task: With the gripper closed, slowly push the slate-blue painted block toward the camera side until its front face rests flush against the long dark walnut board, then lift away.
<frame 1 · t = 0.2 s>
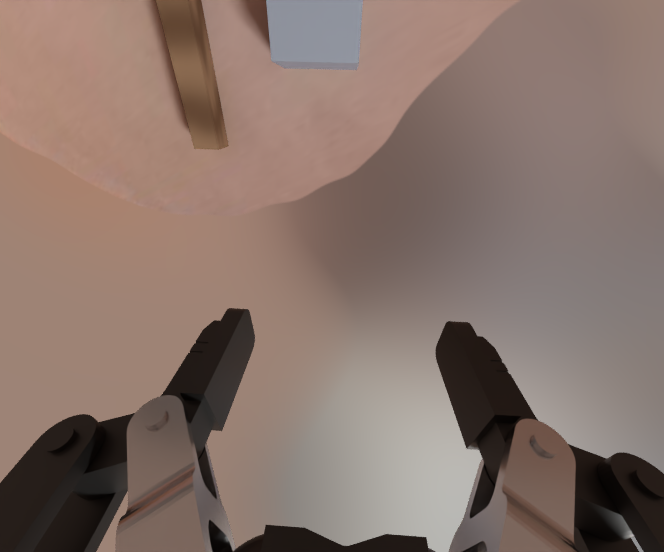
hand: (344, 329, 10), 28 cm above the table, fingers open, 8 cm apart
block: (320, 32, 26), on the table
board: (192, 28, 26), on the table
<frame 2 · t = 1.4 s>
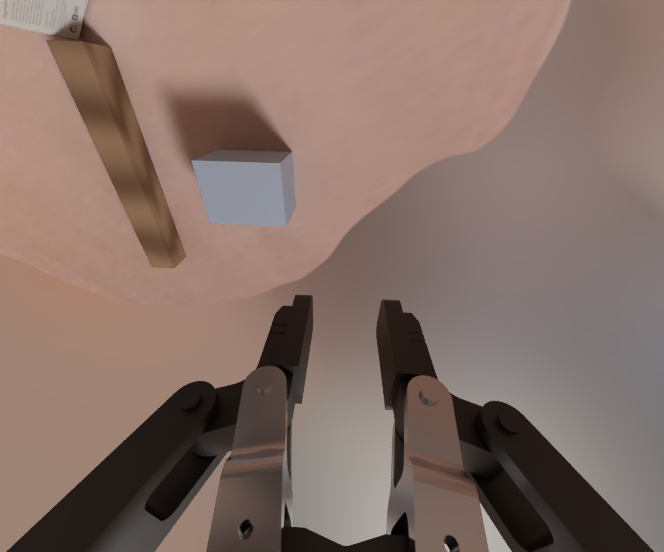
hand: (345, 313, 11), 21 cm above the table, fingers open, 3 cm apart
block: (259, 179, 29), on the table
board: (144, 174, 29), on the table
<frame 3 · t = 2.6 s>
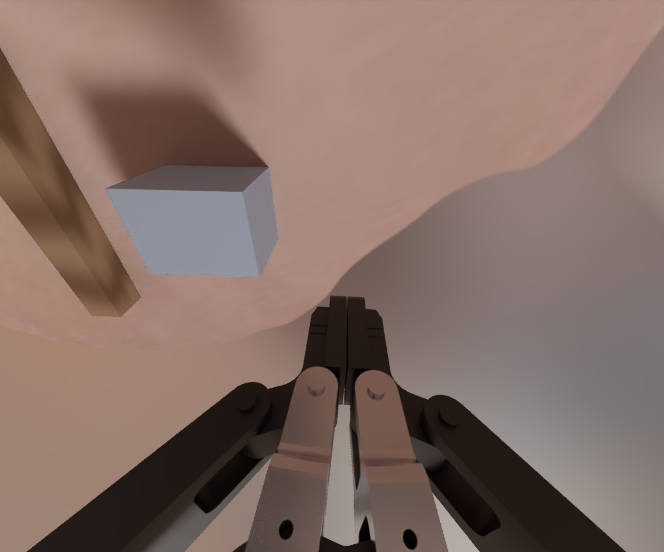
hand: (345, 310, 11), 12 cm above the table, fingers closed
block: (226, 204, 21), on the table
board: (67, 197, 21), on the table
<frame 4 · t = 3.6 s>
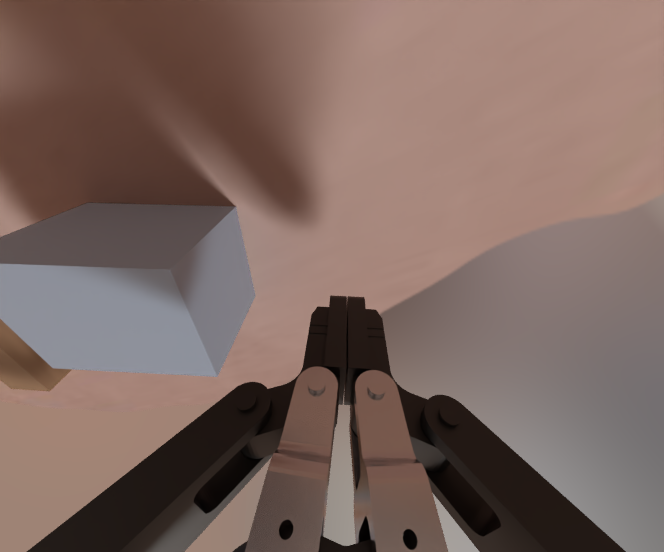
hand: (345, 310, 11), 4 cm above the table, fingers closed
block: (181, 253, 15), on the table
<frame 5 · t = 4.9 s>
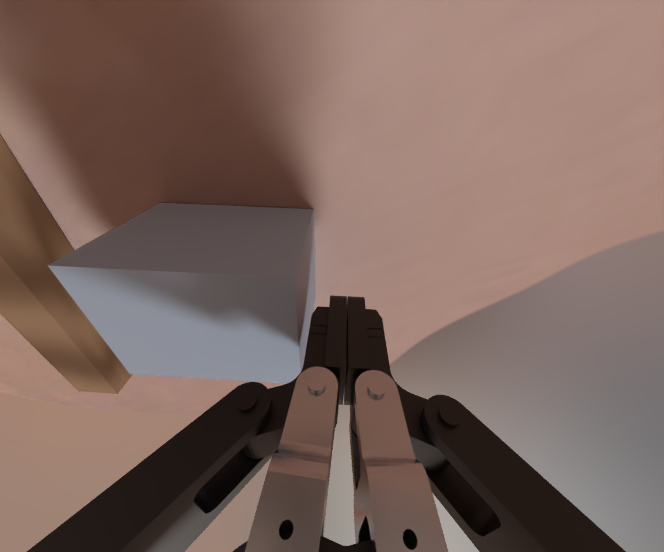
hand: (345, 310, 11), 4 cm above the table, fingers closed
block: (246, 255, 15), on the table, touching gripper
board: (45, 243, 15), on the table
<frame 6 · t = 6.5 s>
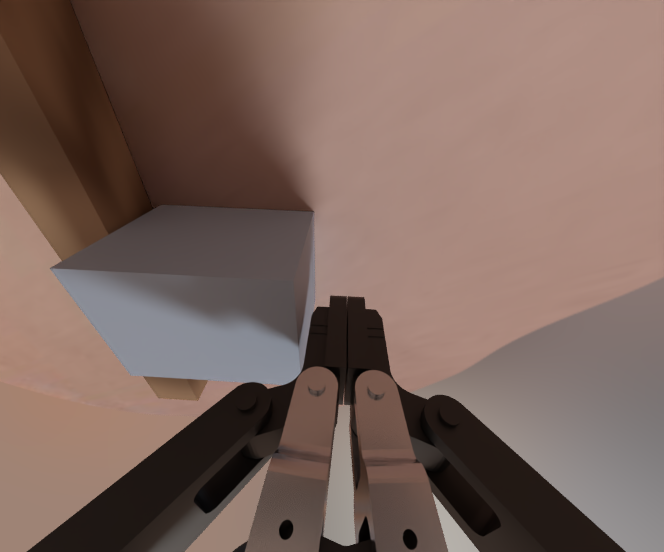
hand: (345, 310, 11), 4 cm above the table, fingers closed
block: (246, 257, 15), on the table, touching gripper
board: (145, 251, 15), on the table
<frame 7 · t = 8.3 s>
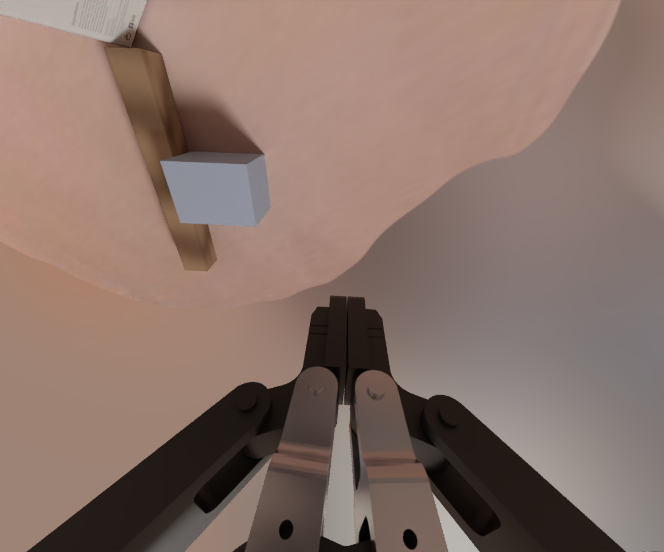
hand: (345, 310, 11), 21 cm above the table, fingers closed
block: (234, 180, 29), on the table
board: (182, 178, 29), on the table
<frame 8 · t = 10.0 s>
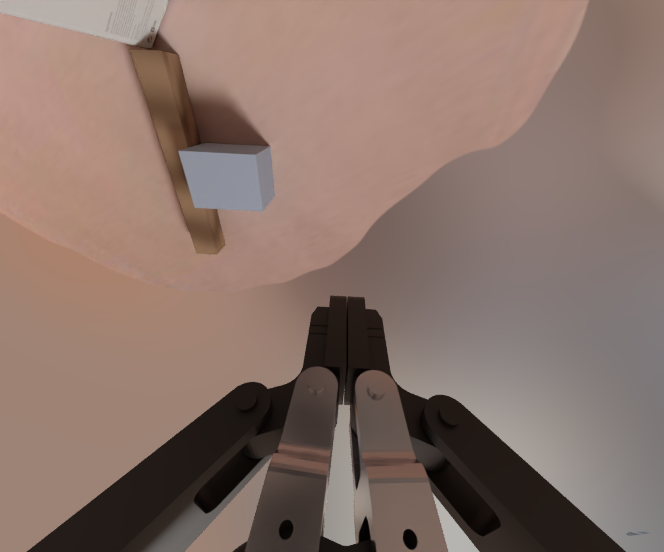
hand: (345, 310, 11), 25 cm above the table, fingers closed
block: (242, 170, 32), on the table
board: (195, 168, 32), on the table
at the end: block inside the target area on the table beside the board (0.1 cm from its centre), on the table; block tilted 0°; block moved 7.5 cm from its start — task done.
